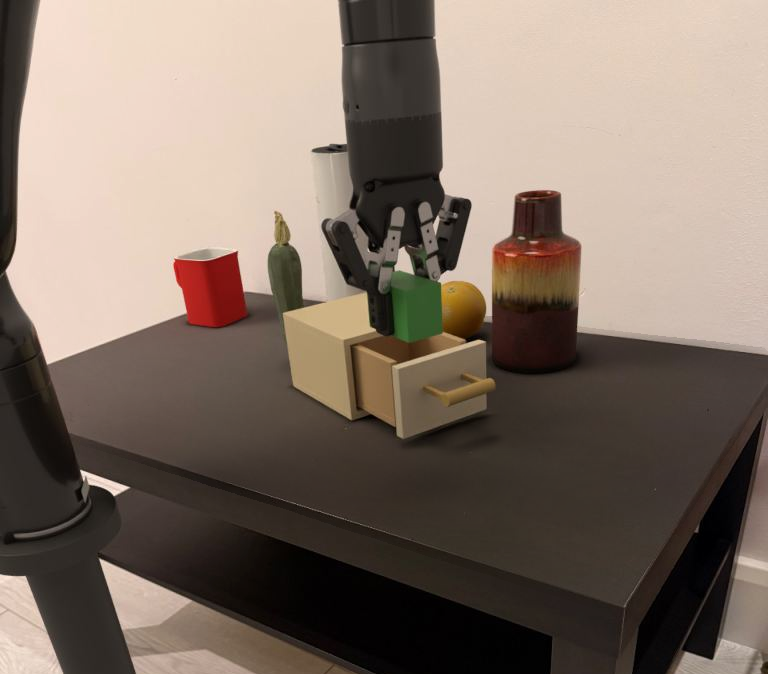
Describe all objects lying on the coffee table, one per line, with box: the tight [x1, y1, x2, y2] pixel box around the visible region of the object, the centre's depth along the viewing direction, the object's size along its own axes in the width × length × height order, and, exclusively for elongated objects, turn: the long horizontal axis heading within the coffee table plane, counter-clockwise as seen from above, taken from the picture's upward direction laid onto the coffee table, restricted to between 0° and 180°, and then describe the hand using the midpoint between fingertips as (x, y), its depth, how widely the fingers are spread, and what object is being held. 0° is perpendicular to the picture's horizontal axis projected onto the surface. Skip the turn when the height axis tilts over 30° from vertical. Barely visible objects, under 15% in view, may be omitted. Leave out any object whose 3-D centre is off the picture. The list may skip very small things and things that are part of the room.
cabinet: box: [283, 292, 383, 421], centre depth 94 cm, size 15×13×10 cm
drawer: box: [350, 332, 496, 440], centre depth 85 cm, size 18×11×8 cm, turn 34°
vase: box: [491, 189, 583, 374], centre depth 96 cm, size 11×11×20 cm
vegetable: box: [267, 210, 305, 349], centre depth 101 cm, size 4×4×20 cm
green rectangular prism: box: [367, 269, 443, 343], centre depth 67 cm, size 6×4×4 cm, turn 32°
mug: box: [172, 246, 248, 328], centre depth 126 cm, size 12×8×11 cm
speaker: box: [310, 143, 396, 302], centre depth 109 cm, size 11×10×26 cm
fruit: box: [441, 280, 487, 340], centre depth 108 cm, size 9×8×8 cm
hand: (405, 327), depth 68 cm, fingers closed on green rectangular prism, 3 cm apart
